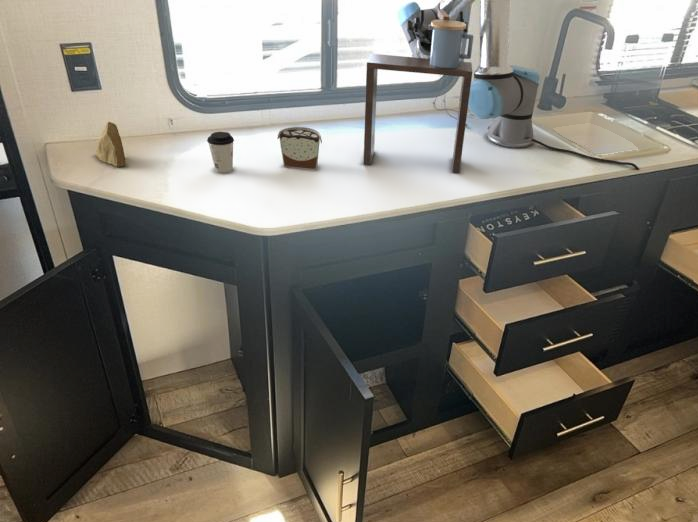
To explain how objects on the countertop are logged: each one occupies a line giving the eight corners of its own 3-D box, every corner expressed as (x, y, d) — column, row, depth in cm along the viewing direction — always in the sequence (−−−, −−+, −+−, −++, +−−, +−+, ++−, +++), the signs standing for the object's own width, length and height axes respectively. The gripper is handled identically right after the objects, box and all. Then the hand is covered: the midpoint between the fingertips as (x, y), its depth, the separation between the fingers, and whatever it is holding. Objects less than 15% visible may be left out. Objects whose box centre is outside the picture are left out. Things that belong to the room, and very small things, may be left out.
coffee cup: (214, 176, 161) (209, 140, 156) (208, 167, 166) (203, 131, 161) (239, 173, 164) (236, 137, 159) (233, 163, 169) (229, 129, 164)
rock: (134, 159, 162) (135, 141, 169) (108, 136, 156) (110, 118, 163) (105, 182, 164) (107, 163, 171) (78, 160, 158) (81, 142, 165)
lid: (456, 17, 169) (457, 10, 168) (469, 31, 154) (469, 24, 153) (424, 15, 168) (424, 9, 167) (433, 29, 153) (434, 22, 152)
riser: (459, 160, 183) (471, 62, 166) (459, 173, 174) (472, 71, 158) (367, 151, 183) (371, 53, 167) (363, 164, 175) (366, 62, 159)
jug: (469, 63, 166) (474, 25, 160) (469, 70, 159) (474, 31, 154) (425, 59, 166) (429, 21, 160) (424, 66, 159) (427, 27, 154)
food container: (326, 162, 174) (325, 128, 169) (321, 170, 169) (321, 136, 164) (284, 158, 175) (282, 124, 169) (278, 166, 170) (276, 131, 164)
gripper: (465, 57, 186) (482, 31, 164) (393, 55, 184) (400, 29, 162) (465, 31, 185) (483, 2, 163) (393, 30, 183) (400, 0, 161)
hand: (442, 16), depth 162 cm, fingers open, 10 cm apart
